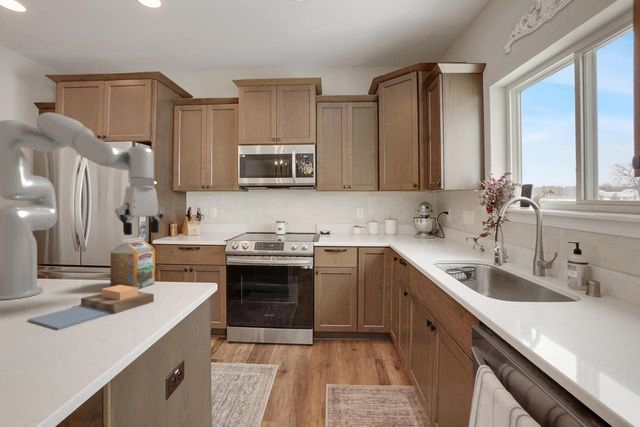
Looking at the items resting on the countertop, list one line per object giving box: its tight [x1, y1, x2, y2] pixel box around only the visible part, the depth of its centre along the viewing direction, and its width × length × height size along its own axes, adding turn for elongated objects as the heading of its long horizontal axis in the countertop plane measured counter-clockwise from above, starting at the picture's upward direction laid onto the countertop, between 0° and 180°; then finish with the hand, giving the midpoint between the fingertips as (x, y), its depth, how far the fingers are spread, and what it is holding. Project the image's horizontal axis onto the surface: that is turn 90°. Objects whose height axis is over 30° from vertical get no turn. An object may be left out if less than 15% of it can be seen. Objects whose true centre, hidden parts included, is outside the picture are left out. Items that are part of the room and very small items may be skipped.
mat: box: [27, 304, 113, 331], centre depth 86 cm, size 14×13×1 cm
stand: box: [80, 290, 155, 315], centre depth 99 cm, size 16×13×2 cm
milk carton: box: [109, 236, 156, 290], centre depth 120 cm, size 11×11×19 cm
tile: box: [101, 285, 139, 300], centre depth 99 cm, size 9×6×2 cm, turn 67°
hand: (141, 233), depth 104 cm, fingers open, 9 cm apart
